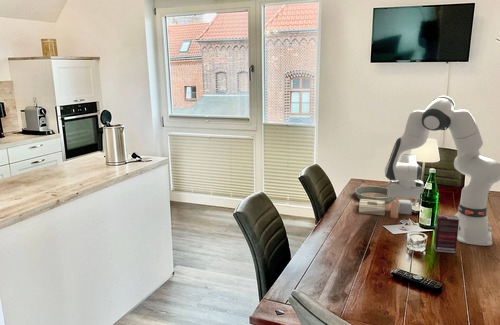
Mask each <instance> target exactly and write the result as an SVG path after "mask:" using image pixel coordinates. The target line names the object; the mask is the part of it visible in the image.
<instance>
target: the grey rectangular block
mask: <svg viewBox="0 0 500 325" xmlns="http://www.w3.org/2000/svg"><path fill="white" fill-rule="evenodd" d="M398 201H399V211H398V215H399V214H401V215H412V212H413V211H412V210H413V209H412V208H413V206H412V201H411V199H410V200H409V199H398Z"/></svg>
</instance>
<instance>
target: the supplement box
mask: <svg viewBox="0 0 500 325" xmlns="http://www.w3.org/2000/svg"><path fill="white" fill-rule="evenodd" d="M435 216H436V218H435V226H434V238H433V246H432V247H433V249H434V251H435V252H439V253H452V254H455V253H457V252H456V251H457V243H458V239H457V235H458V225H459V219H458V218H457V216H454V215H445V214H444V215H443V214H436V215H435Z"/></svg>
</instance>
